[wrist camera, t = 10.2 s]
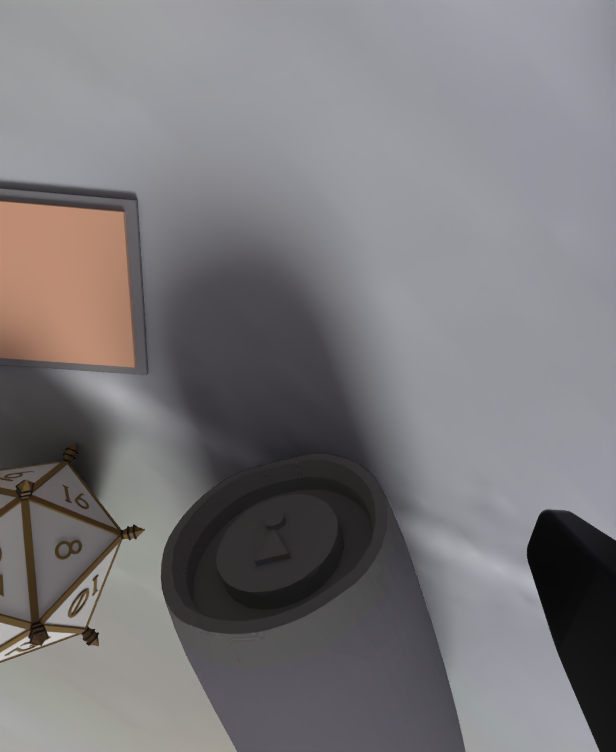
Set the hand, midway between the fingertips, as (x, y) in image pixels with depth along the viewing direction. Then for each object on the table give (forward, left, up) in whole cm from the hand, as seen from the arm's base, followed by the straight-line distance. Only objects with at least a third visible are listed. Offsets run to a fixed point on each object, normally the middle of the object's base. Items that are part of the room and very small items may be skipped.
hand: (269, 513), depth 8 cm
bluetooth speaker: (-4, +17, -12) cm, 21 cm away
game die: (+10, +10, -12) cm, 19 cm away
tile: (+9, 0, -12) cm, 15 cm away
